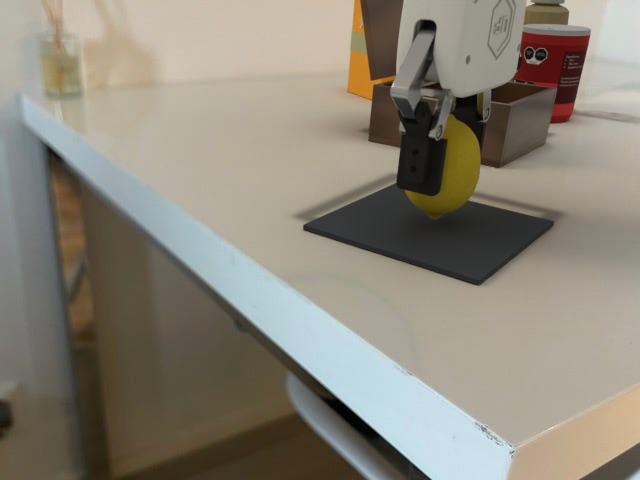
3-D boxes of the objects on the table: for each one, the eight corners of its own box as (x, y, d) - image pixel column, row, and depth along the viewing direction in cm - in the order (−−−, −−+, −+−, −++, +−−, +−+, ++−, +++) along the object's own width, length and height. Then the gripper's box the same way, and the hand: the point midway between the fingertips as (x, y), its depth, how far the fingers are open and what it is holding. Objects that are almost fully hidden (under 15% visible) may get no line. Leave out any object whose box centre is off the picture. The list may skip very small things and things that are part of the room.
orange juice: (378, 102, 93) (394, -58, 84) (346, 91, 100) (357, -58, 91) (424, 99, 96) (444, -57, 87) (389, 88, 103) (404, -57, 94)
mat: (553, 225, 52) (554, 221, 52) (478, 285, 42) (479, 279, 42) (395, 186, 60) (396, 182, 60) (302, 229, 50) (303, 224, 50)
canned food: (502, 108, 91) (518, 22, 86) (564, 112, 90) (583, 25, 85) (510, 120, 84) (527, 28, 79) (576, 124, 83) (598, 31, 78)
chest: (545, 143, 75) (557, 87, 72) (499, 167, 66) (511, 105, 63) (423, 121, 83) (430, 70, 81) (367, 140, 74) (373, 84, 72)
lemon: (449, 239, 47) (466, 126, 44) (383, 219, 51) (394, 113, 47) (484, 218, 51) (502, 113, 47) (420, 201, 54) (432, 102, 51)
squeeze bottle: (495, 93, 101) (518, -39, 93) (510, 85, 107) (533, -39, 99) (550, 100, 97) (579, -37, 89) (563, 92, 103) (591, -37, 95)
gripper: (478, -112, 33) (429, 225, 41) (584, -93, 45) (530, 166, 53) (352, -107, 37) (330, 198, 46) (478, -91, 49) (443, 149, 57)
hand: (438, 178), depth 49 cm, fingers closed on lemon, 5 cm apart
